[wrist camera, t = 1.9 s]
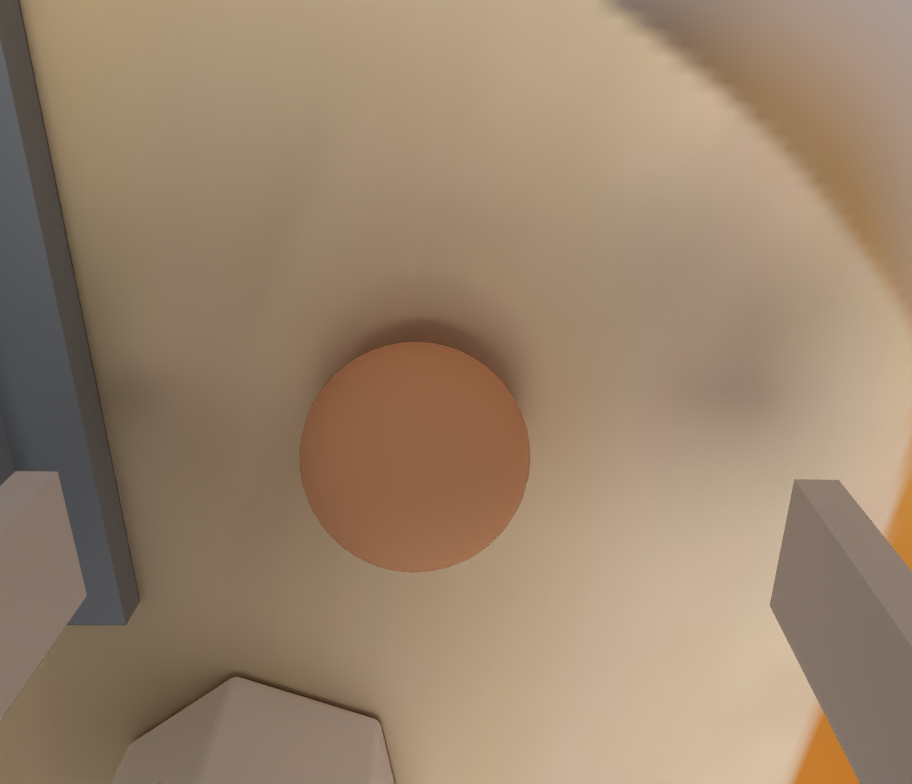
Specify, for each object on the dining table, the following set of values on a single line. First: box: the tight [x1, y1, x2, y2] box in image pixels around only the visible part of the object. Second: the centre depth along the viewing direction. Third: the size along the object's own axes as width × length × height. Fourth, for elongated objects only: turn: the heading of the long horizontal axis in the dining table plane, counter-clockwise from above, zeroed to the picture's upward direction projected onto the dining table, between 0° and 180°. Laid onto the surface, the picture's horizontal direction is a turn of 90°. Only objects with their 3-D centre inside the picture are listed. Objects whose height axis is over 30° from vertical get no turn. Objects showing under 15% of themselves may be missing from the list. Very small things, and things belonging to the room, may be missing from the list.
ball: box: [300, 342, 530, 572], centre depth 18 cm, size 5×5×5 cm
